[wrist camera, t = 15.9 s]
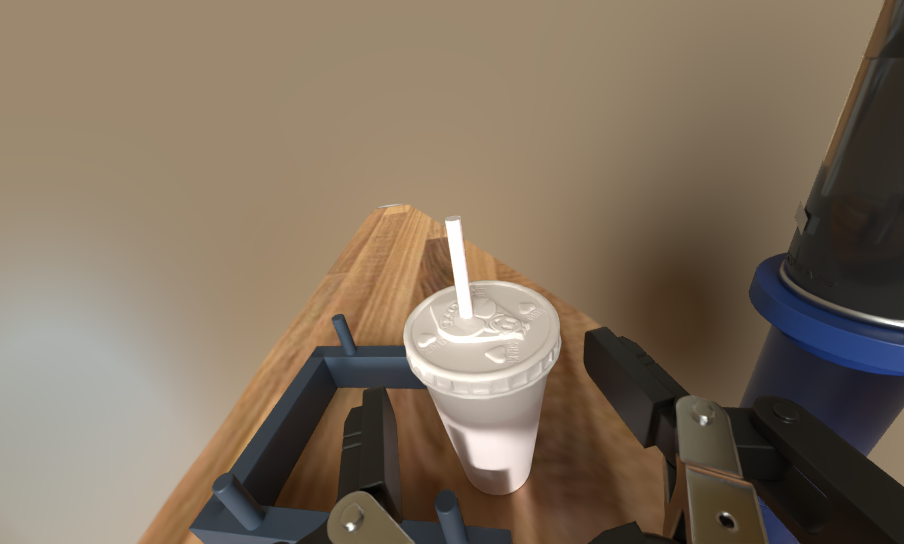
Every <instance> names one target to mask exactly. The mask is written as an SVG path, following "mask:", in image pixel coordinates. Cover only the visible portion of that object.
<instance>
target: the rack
mask: <svg viewBox="0 0 904 544" xmlns="http://www.w3.org/2000/svg"><path fill="white" fill-rule="evenodd" d="M332 322H333V324H334V327H335V329H336V332H337V334H338V337H339V339H340V342H341V344H342V346H317V347H316V348H315V350H314V351H313V353H312V354H311V356H310V357H309V358H308V360H307V361H306V363H305V364H304V366H303V367H302V368H301V370H300V371H299V373H298V374H297V376H296V377H295V378H294V380H293V381H292V383H291V384H290V386H289V387H288V388H287V390H286V391H285V393H284V394H283V395H282V397H281V398H280V400H279V401H278V403H277V404H276V405H275V407H274V408H273V410H272V411H271V413H270V414H269V415H268V417H267V418H266V420H265V421H264V423H263V424H262V425H261V427H260V428H259V430H258V431H257V433H256V434H255V435H254V437H253V438H252V440H251V441H250V443H249V444H248V445H247V447H246V448H245V450H244V451H243V452H242V454H241V455H240V457H239V458H238V460H237V461H236V462H235V464H234V465H233V467H232V468H231V470H230V471H229V472H228V473H225V474H223V475H221V476H220V477H218V478H217V479H216V481H215V482H214V484H213V486H212V491H213V493H214V494H213V495H212V497H211V498H210V499H209V501H208V502H207V503H206V505H205V506H204V508H203V509H202V511H201V512H200V513H199V515H198V516H197V518H196V519H195V521H194V522H193V523H192V525H191V526H190V528H189V530H190V531H191V532H192V533H194V534H195V535H196V536H197V537H198V538H199V539H200V540H201V541H202V542H203V543H204V544H273V543H276V542H281V541H284V542H288V543H290V544H295V543H296V542H298V541H299V540H301V539H302V538H304V537H305V536H307V535H308V534H310V533H311V532H313V531H314V530H316V529H317V528H318V527H319V526H321V525H322V524H323V523H324V522H325V520H326V519H327V518H328V517H329V515H330V513H331V512H324V511H314V510H304V509H294V508H284V507H273V504H274V502H275V500H276V498H277V496H278V495H279V493H280V491H281V489H282V487H283V485H284V484H285V482H286V480H287V478H288V476H289V474H290V473H291V471H292V469H293V467H294V465H295V463H296V462H297V460H298V458H299V456H300V454H301V453H302V451H303V449H304V447H305V445H306V443H307V442H308V440H309V438H310V436H311V434H312V432H313V431H314V429H315V427H316V425H317V423H318V421H319V420H320V418H321V416H322V414H323V412H324V411H325V409H326V407H327V405H328V403H329V401H330V400H331V398H332V396H333V394H334V392H335V390H336V389H337V387H351V388H373V387H377V386H381V385H384V386H385V388H413V389H427V386H426V385H424V384H423V383H422V382H421V381H420V379H419V378H418V377H417V376H416V375H415V374H414V373H413V372H412V370H411V368H410V365H409V363H408V360H407V358H406V348H405V345H402V346H355V343H354V341H353V338H352V335H351V333H350V330H349V328H348V325H347V322H346V320H345V317H344V315H343V314H337V315H335V316H334V317H333V318H332ZM434 505H435V509H436V512H437V515H438V518H439V521H440V523H435V522H425V521H415V520H405V519H403V523H402V524H399V526H400V527H401V528H402V530H403V531H404V532H405V533H406V534H407V535H408V536H409V537H410V538H411V539H412V540H413V541H414V542H415V543H416V544H513V542H512V534H511V530H506V529H496V528H486V527H476V526H466V525H464V521H463V518H462V514H461V510H460V506H459V503H458V499H457V496H456V494H455V493H454V492H453V491H451V490H449V489H445V490H442V491H440V492H439V493H438V494H437V496H436V498H435V502H434Z"/></svg>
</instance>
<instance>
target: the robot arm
mask: <svg viewBox="0 0 904 544" xmlns="http://www.w3.org/2000/svg"><path fill="white" fill-rule="evenodd" d="M795 219H796V222H797V225H798V226H797V229H796V232H795V234H794V237H793V240H792V242H791V245H790V248H789V250H788V253H787V256H786V258H785V260H784V261H783V262H782V264H781V267H780V269H779V272H778V277H779V280H780V282H781V284H782V285H783V286H784V287H785V288H786V289H787V290H788V291H789V292H790V293H792V294H793V295H795V296H796V297H798V298H799V299H801V300H803V301H804V302H806V303H808V304H810V305H812V306H814V307H816V308H819V309H821V310H823V311H826V312H828V313H831V314H833V315H836V316H839V317H842V318H845V319H848V320H851V321H854V322H858V323H862V324H865V325H870V326H874V327H878V328H883V329H888V330H893V331H899V332H904V0H883V2H882V5H881V8H880V10H879V13H878V15H877V18H876V21H875V23H874V26H873V29H872V31H871V34H870V37H869V39H868V42H867V45H866V47H865V50H864V52H863V57H862V59H861V61H860V64H859V66H858V69H857V72H856V74H855V77H854V79H853V82H852V85H851V87H850V90H849V93H848V95H847V98H846V100H845V103H844V106H843V108H842V111H841V114H840V116H839V119H838V121H837V124H836V127H835V130H834V132H833V135H832V137H831V140H830V143H829V145H828V148H827V151H826V153H825V156H824V158H823V161H822V164H821V166H820V169H819V171H818V174H817V177H816V180H815V182H814V185H813V187H812V190H811V193H810V195H809V198H808V200H807V203H806V206H805V208H804V209H803V206H802V204H801V202H800V204H799V207H798V210H797V212H796V215H795ZM583 360H584V366H585V369H586V371H587V373H588V375H589V376H590V377H591V379H592V380H593V381H594V383H595V384H596V385H597V387H598V388H599V389H600V391H601V392H602V393H603V395H604V396H605V397H606V399H607V400H608V401H609V402H610V404H611V405H612V406H613V408H614V409H615V410H616V412H617V413H618V414H619V416H620V417H621V418H622V420H623V421H624V422H625V424H626V425H627V426H628V428H629V429H630V430H631V432H632V433H633V434H634V436H635V437H636V438H637V439H638V441H639V442H640V443H641V445H642V446H643V447H644V449H645V448H649V447H652V446H655V445H656V446H657V447H658V448H659V450H660V451H661V452H662V453H663V481H664V506H665V514H664V524H663V536H662V535H659V534H655V533H649V532H642V531H641V530H640V528H639V526H638V525H637V523H636V521H634V522H631V523H628V524H625V525H622V526H619V527H615V528H612V529H609V530H606V531H603V532H602V533H601V534H599V535H598V536H597V537H596V538H594V539H593V540H592V541H590V542H589V543H588V544H769V542H768V538H767V534H766V530H765V526H764V522H763V518H762V514H761V510H760V506H759V502H758V498H757V495H758V496H759V497H760V498H761V499H762V500H763V502H764V503H765V504H766V505H767V506H768V507H769V508H770V509H771V511H772V512H773V513H774V514H775V515H776V516H777V517H778V519H779V520H780V521H781V522H782V523H783V524H784V525H785V526H786V528H787V529H788V530H789V531H790V532H791V533H792V534H793V535H794V537H795V538H796V539H797V540H798V541H799V542H800V543H801V544H904V487H903V486H902V485H901V484H899V483H898V482H897V481H896V480H894V479H893V478H892V477H891V476H889V475H888V474H887V473H885V472H884V471H883V470H881V469H880V468H879V467H878V466H877V465H875V464H874V463H873V462H872V461H870V460H869V459H867V458H866V457H865V456H864V455H863V454H861V453H860V452H859V451H858V450H856V449H855V448H854V447H852V446H851V445H850V444H849V443H847V442H846V441H845V440H844V439H842V438H841V437H840V436H838V435H837V434H836V433H835V432H833V431H832V430H831V429H830V428H828V427H827V426H826V425H825V424H823V423H822V422H821V421H819V420H818V419H817V418H816V417H814V416H813V415H812V414H811V413H809V412H808V411H807V410H805V409H804V408H803V407H801V406H800V405H798V404H796V403H794V402H792V401H790V400H787V399H784V398H781V397H776V396H762V397H759V398H758V399H756V400H755V402H754V404H753V407H752V408H729V407H721V406H719V405H718V404H717V403H715V402H713V401H711V400H709V399H706V398H704V397H701V396H694V395H690V394H688V392H686V391H685V390H684V389H683V388H682V387H681V386H680V385H679V384H678V383H677V382H676V381H675V380H674V379H673V378H672V377H671V376H670V375H669V374H668V373H667V372H666V371H665V370H663V368H661V367H660V366H659V365H658V364H657V363H655V361H654V360H653V359H652V358H651V357H650V356H649V355H647V354H646V352H645V351H644V350H643V349H642V348H641V347H639V345H637V344H636V343H635V342H633V341H631V340H629V339H627V338H625V337H623V336H622V337H616V336H615V335H614V334H613V332H611V330H609V329H608V328H607V327H601V328H598V329H594V330H590V331H587V332H586V333H585V340H584V358H583ZM343 437H344V439H343V445H342V449H343V451H342V455H341V466H340V476H339V486H338V496H337V500H336V504H335V506H334V508H333V510H332V512H331V513H330V515H329V517H328V518H327V519H326V520H325V522H324V523H323V524H322V525H321V526H319V527H318V528H317V529H316V530H314V531H313V532H311V533H310V534H308V535H307V536H305V537H304V538H302V539H301V540H299V541H298V542H296V543H295V544H416V543H415V542H414V541H413V540H412V539H411V538H410V537H409V536H408V535H407V534H406V533H405V532H404V531H403V530H402V528H401V527H400V526H399V524H402V523H403V518H402V502H401V486H400V470H399V454H398V438H397V425H396V419H395V414H394V411H393V408H392V405H391V402H390V399H389V397H388V394H387V391H386V388H385V386H384V385H381V386H377V387H373V388H370V389H366V390H364V391H363V404H362V406H359V407H356V408H352V409H351V411H350V413H349V415H348V417H347V419H346V421H345V424H344V434H343ZM794 466H795V467H796V468H797V469H798V470H799V471H800V472H801V473H802V474H803V475H804V476H806V477H807V478H808V479H809V480H810V481H811V482H812V483H813V484H814V485H815V486H816V487H817V488H818V489H819V490H820V491H821V492H822V493H823V494H824V495H825V496H826V497H827V498H828V499H829V500H828V499H827V498H826V497H825V496H824V495H823V494H822V493H821V492H820V491H819V490H818V489H817V488H816V487H815V486H814V485H813V484H812V483H811V482H810V481H809V480H807V479H806V478H805V477H804V476H803V475H802V474H801V473H800V472H799V471H798V470H797V469H796V468H795V467H794ZM273 544H290V543H288V542H284V541H281V542H276V543H273Z"/></svg>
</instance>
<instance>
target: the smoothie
mask: <svg viewBox="0 0 904 544" xmlns="http://www.w3.org/2000/svg"><path fill="white" fill-rule="evenodd" d="M445 223H446V229H447V236H448V242H449V248H450V255H451V261H452V267H453V274H454V280H455V285H454V286H450V287H447V288H445V289H443V290H441V291H438V292H436V293H435V294H433V295H431V296H430V297H428V298H426V299H425V300H424V301H423V302H422V303H420V304H419V305H418V306H417V307H416V308H415V309H414V310H413V312H412V313H411V314H410V316H409V318H408V319H407V322H406V324H405V327H404V332H403V339H404V344H405V348H406V358H407V360H408V363H409V365H410V368H411V370H412V372H413V373H414V374H415V375H416V376H417V377H418V378H419V379H420V381H421V382H422V383H423V384H424V385H426V386H427V389H428V391H429V393H430V395H431V397H432V399H433V402H434V404H435V406H436V408H437V411H438V413H439V415H440V417H441V420H442V422H443V424H444V426H445V429H446V431H447V433H448V435H449V438H450V440H451V442H452V444H453V447H454V449H455V451H456V453H457V456H458V458H459V460H460V462H461V465H462V467H463V469H464V471H465V474H466V476H467V478H468V479H469V481H470V482H471V483H472V484H473V485H474V486H475V487H476V488H477V489H479V490H480V491H482V492H484V493H487V494H490V495H506V494H509V493H512V492H514V491H516V490H517V489H519V488H520V487H521V486H522V485H523V484H524V483H525V481H526V480H527V478H528V476H529V473H530V469H531V463H532V458H533V452H534V447H535V441H536V436H537V430H538V425H539V419H540V413H541V408H542V402H543V397H544V391H545V386H546V382H547V376H548V373H549V372H550V370H551V369H552V367H553V366H554V364H555V362H556V361H557V359H558V358H559V353H560V348H561V343H562V342H561V337H560V332H559V331H560V323H559V318H558V314H557V312H556V310H555V308H554V307H553V305H552V304H551V303H550V302H549V301H548V300H547V299H546V298H545V297H543V296H542V295H541V294H539V293H538V292H536V291H534V290H532V289H530V288H528V287H525V286H523V285H520V284H516V283H512V282H507V281H498V280H480V281H470V282H469V277H468V270H467V262H466V255H465V247H464V240H463V232H462V225H461V217H460V216H450V217H447V218H446V219H445Z"/></svg>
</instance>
